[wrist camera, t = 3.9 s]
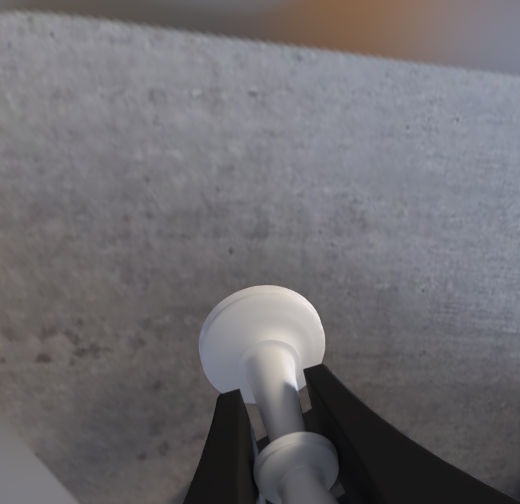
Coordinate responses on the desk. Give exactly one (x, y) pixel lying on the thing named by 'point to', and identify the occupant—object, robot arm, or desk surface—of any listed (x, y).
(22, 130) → the desk surface
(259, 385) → the chess piece
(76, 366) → the desk surface
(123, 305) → the desk surface
